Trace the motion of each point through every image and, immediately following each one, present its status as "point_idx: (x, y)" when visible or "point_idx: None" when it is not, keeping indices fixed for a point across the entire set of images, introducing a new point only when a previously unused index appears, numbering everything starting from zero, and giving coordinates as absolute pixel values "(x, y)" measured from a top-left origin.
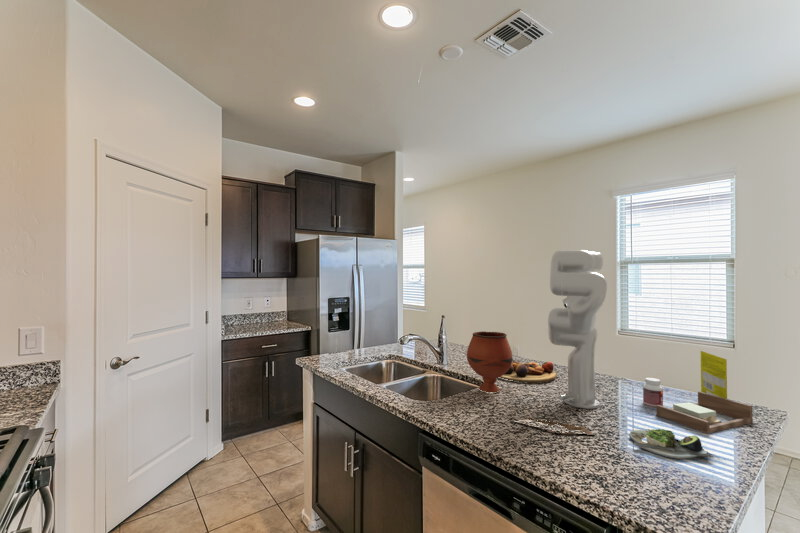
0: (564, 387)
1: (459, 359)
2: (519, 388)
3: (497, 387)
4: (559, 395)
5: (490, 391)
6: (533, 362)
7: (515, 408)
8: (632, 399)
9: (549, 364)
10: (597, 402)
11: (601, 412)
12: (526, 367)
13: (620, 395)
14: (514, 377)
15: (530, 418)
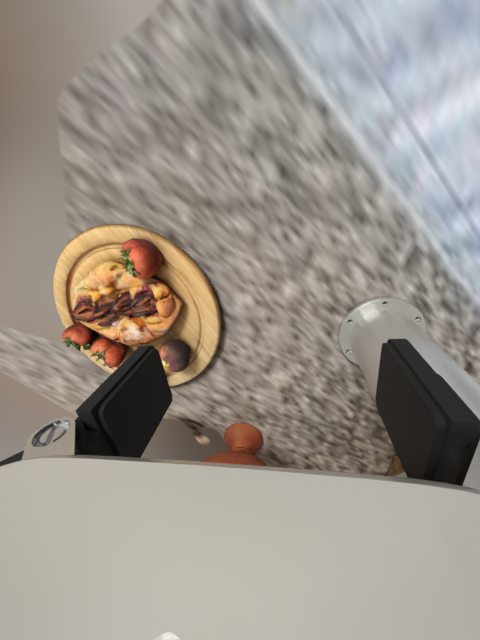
0: (264, 285)
1: (7, 374)
2: (242, 384)
3: (250, 435)
4: (367, 392)
5: (259, 447)
6: (100, 280)
7: (341, 450)
8: (432, 162)
9: (148, 266)
10: (414, 313)
11: (445, 334)
12: (176, 353)
13: (385, 170)
14: (189, 369)
15: (397, 463)
